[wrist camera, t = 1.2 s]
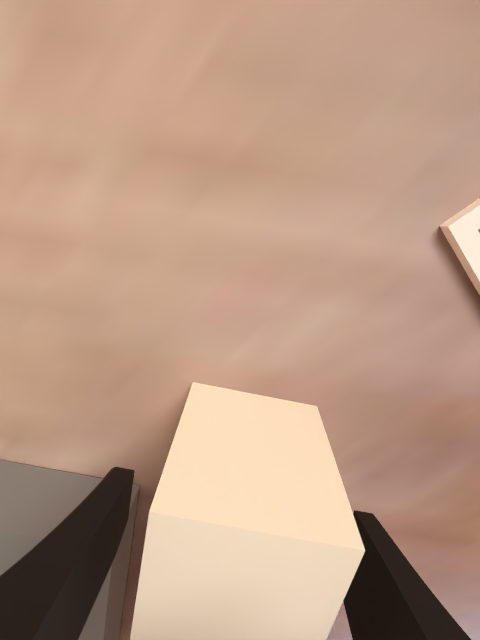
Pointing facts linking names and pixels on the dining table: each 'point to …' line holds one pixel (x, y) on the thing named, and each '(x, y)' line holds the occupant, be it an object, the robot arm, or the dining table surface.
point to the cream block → (246, 526)
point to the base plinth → (44, 516)
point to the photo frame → (466, 239)
